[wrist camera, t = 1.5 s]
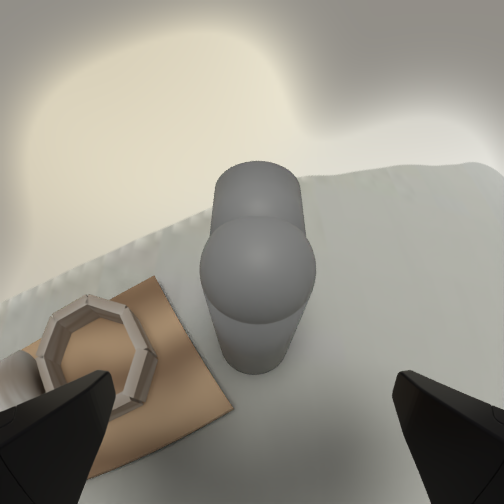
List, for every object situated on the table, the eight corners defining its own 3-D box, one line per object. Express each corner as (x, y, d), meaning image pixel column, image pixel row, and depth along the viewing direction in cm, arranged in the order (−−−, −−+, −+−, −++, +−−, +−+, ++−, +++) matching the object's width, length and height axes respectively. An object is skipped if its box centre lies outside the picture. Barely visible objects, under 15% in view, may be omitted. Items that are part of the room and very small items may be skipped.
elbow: (288, 374, 22) (334, 298, 10) (219, 373, 22) (183, 297, 10) (285, 288, 25) (312, 158, 14) (223, 288, 25) (204, 156, 14)
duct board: (234, 409, 20) (228, 400, 15) (32, 497, 14) (-15, 501, 9) (157, 282, 26) (136, 239, 20) (-11, 376, 19) (-55, 355, 14)
